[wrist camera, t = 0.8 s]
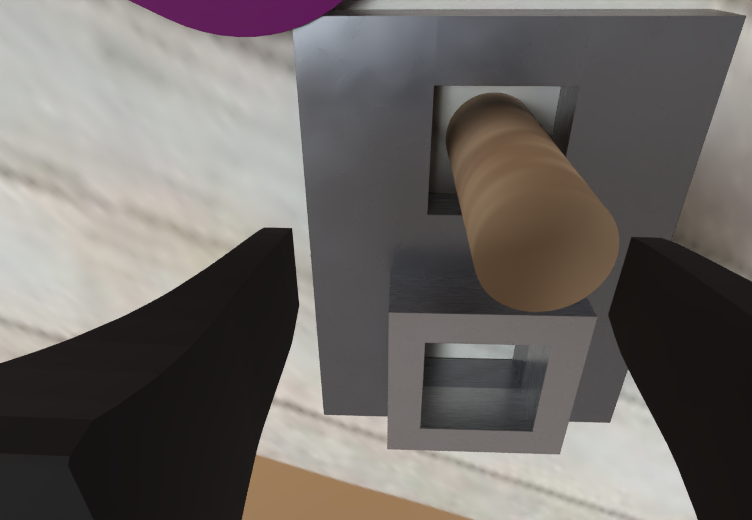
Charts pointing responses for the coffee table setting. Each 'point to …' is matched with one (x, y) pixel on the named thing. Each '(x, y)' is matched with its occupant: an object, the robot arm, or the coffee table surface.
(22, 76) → the coffee table surface
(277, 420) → the coffee table surface
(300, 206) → the coffee table surface
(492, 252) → the pin
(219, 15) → the mounting bracket
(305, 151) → the mount plate
